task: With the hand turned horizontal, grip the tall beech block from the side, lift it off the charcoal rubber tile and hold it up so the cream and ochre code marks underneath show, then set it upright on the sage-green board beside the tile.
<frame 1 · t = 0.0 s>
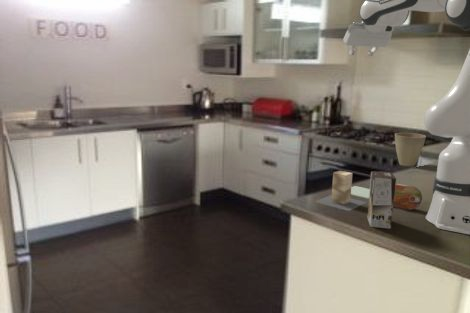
hand: (360, 54, 175), 54 cm above the worktop, tool tilted 30°, fingers open, 8 cm apart
beech block: (340, 201, 152), resting on code tile
code tile: (340, 202, 152), on the worktop
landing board: (364, 193, 163), on the worktop
plant pot: (406, 165, 216), on the worktop
coffee box: (378, 223, 132), on the worktop
tin: (398, 207, 148), on the worktop
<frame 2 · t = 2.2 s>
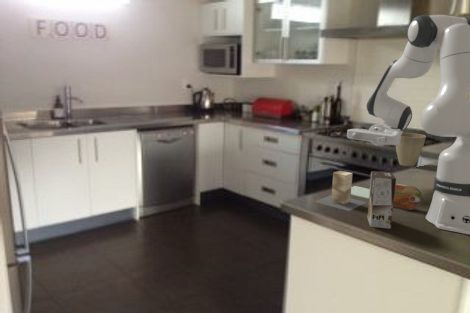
hand: (364, 138, 158), 22 cm above the worktop, tool horizontal, fingers open, 8 cm apart
nothing on the worktop moved.
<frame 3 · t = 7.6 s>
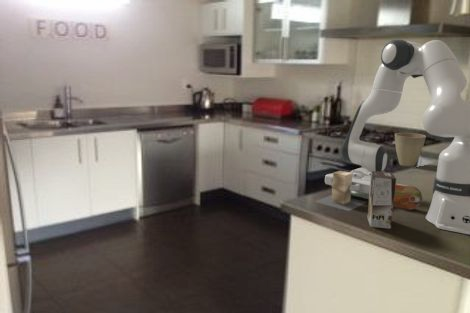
hand: (341, 187, 150), 6 cm above the worktop, tool horizontal, fingers closed on beech block, 5 cm apart
beech block: (340, 201, 152), resting on code tile, touching gripper
everything else where it was.
when the fingers open (8 cm above the worktop, at t = 15.8 s): beech block drops 2 cm, resting on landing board.
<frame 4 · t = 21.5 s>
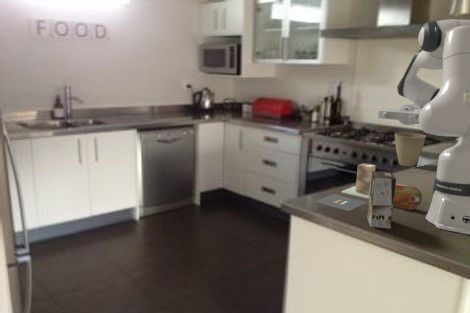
hand: (395, 116, 165), 30 cm above the worktop, tool horizontal, fingers open, 8 cm apart
beech block: (364, 192, 163), point 1 cm above the worktop, touching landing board
everything else where it was.
at the end: beech block inside the target area on the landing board (0.0 cm from its centre), point 0.6 cm above the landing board's base; beech block tilted 0°; the gripper is holding nothing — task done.
